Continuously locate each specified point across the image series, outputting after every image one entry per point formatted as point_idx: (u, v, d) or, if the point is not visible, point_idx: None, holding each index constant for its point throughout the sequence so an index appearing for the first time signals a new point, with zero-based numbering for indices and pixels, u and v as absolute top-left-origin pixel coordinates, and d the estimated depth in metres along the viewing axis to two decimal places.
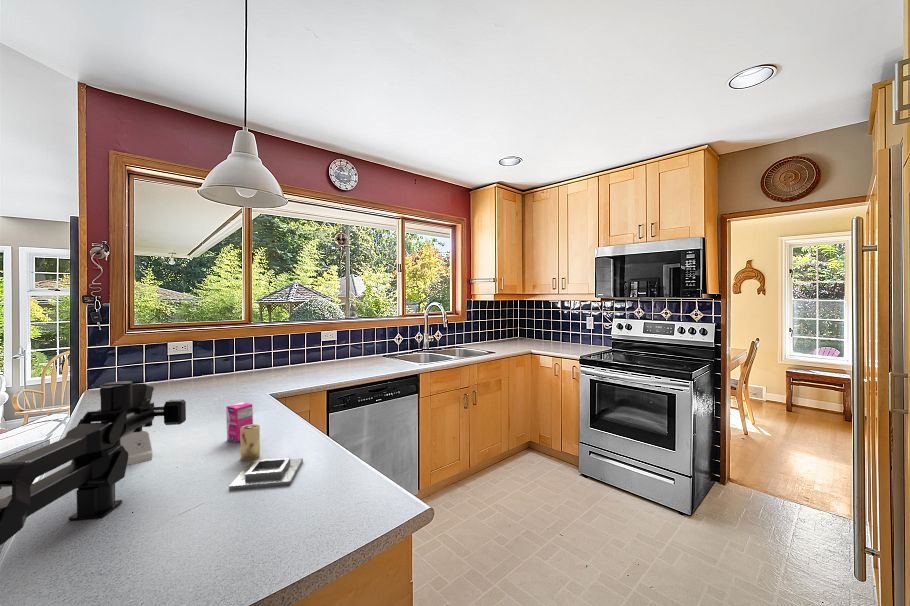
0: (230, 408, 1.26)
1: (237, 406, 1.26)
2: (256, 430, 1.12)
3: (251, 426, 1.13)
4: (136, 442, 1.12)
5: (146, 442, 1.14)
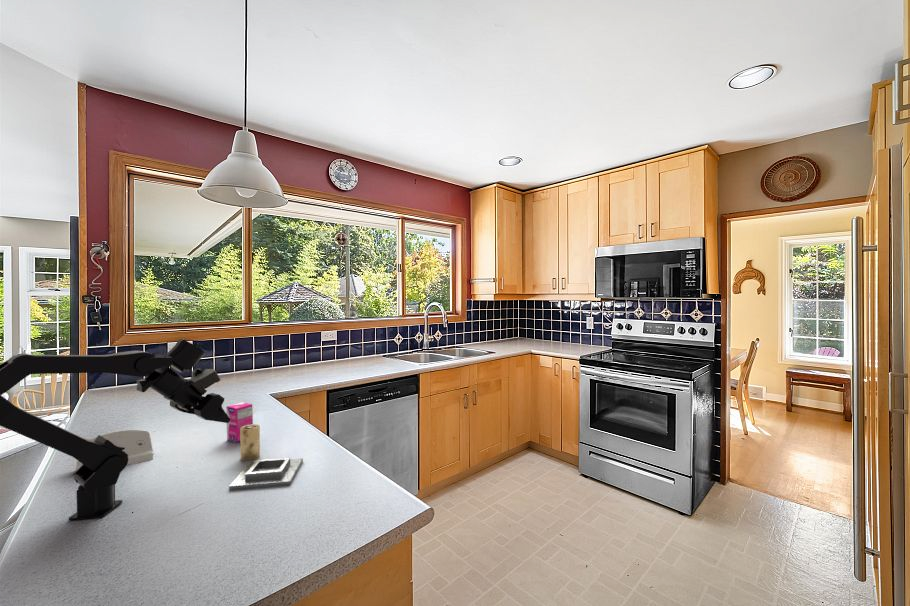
0: (230, 408, 1.26)
1: (237, 406, 1.26)
2: (256, 430, 1.12)
3: (251, 426, 1.13)
4: (137, 442, 1.12)
5: (147, 442, 1.14)
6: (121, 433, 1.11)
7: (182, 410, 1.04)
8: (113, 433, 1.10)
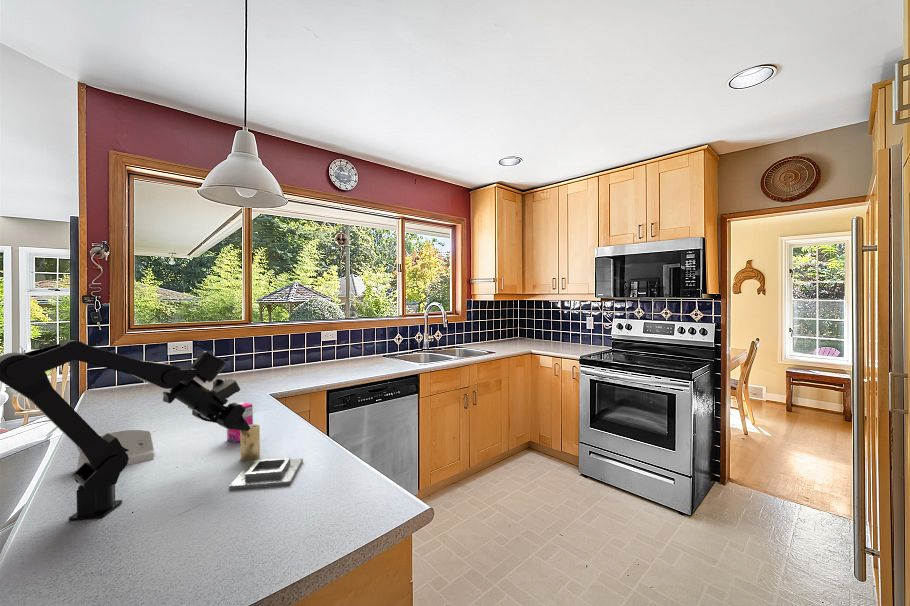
0: None
1: None
2: (256, 430, 1.12)
3: (251, 426, 1.13)
4: (138, 442, 1.12)
5: (148, 442, 1.14)
6: (122, 433, 1.11)
7: (204, 419, 1.08)
8: (114, 433, 1.10)
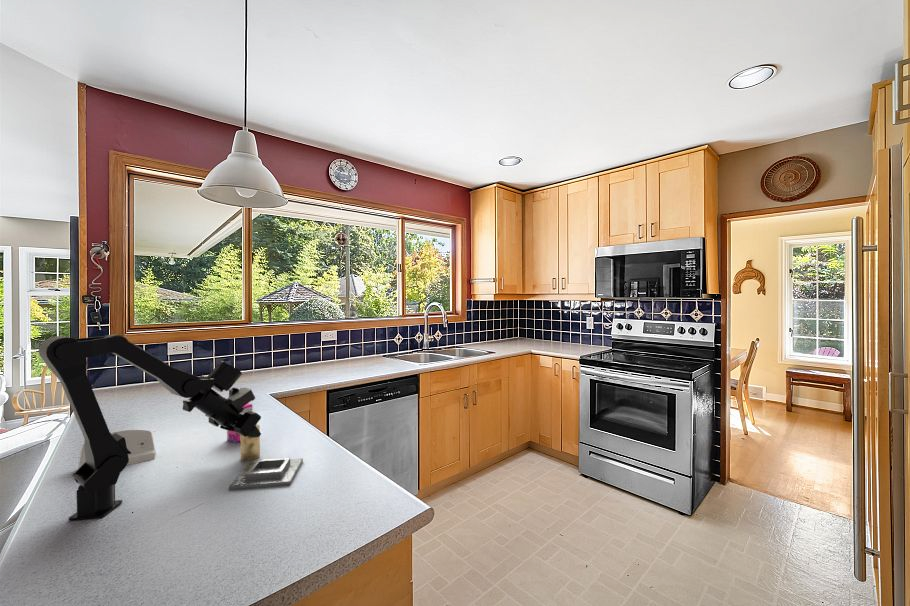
0: None
1: None
2: None
3: None
4: (139, 442, 1.13)
5: (149, 441, 1.14)
6: (123, 433, 1.11)
7: (223, 427, 1.10)
8: None
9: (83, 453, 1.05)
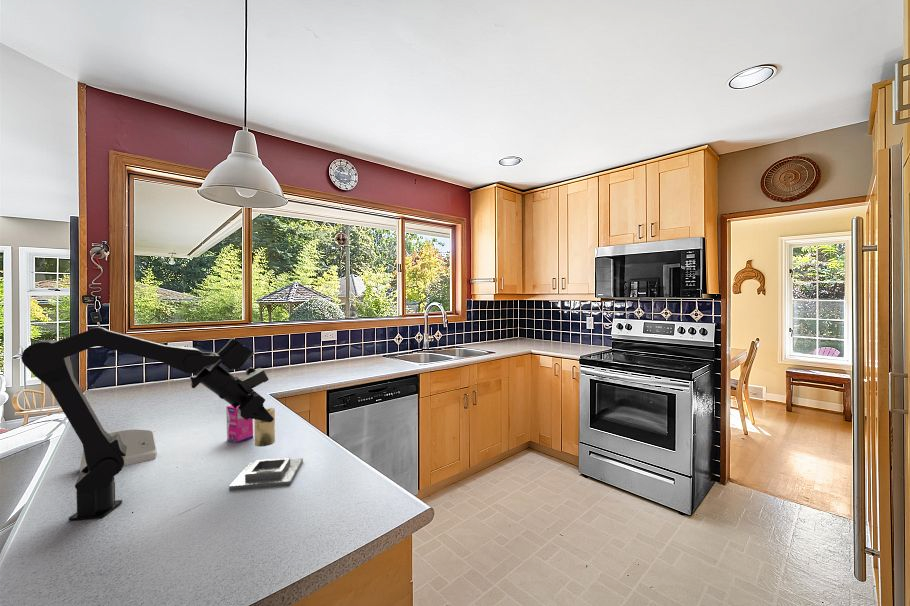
0: (230, 408, 1.26)
1: None
2: None
3: (266, 409, 1.06)
4: (140, 441, 1.13)
5: (150, 441, 1.14)
6: (125, 432, 1.11)
7: None
8: (117, 432, 1.11)
9: None
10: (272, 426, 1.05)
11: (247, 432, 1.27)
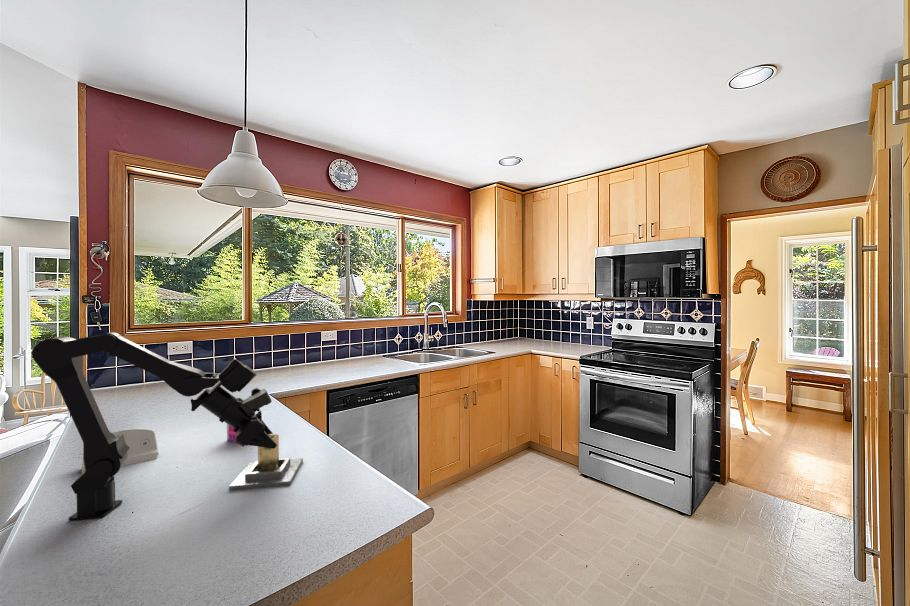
0: None
1: None
2: None
3: (270, 436, 1.02)
4: (142, 441, 1.13)
5: (152, 441, 1.14)
6: (126, 432, 1.12)
7: None
8: (119, 432, 1.11)
9: None
10: (275, 454, 1.00)
11: None
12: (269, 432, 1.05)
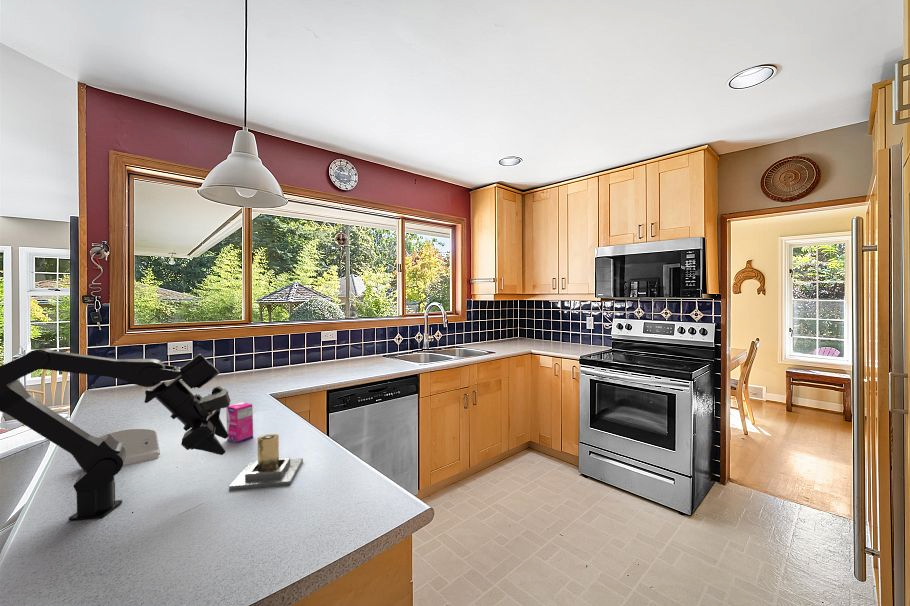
0: (230, 408, 1.26)
1: (237, 406, 1.26)
2: (270, 442, 0.99)
3: (270, 436, 1.02)
4: (143, 441, 1.13)
5: (153, 441, 1.14)
6: (128, 432, 1.12)
7: None
8: (120, 431, 1.11)
9: None
10: (275, 454, 1.00)
11: (247, 432, 1.27)
12: (224, 432, 1.02)
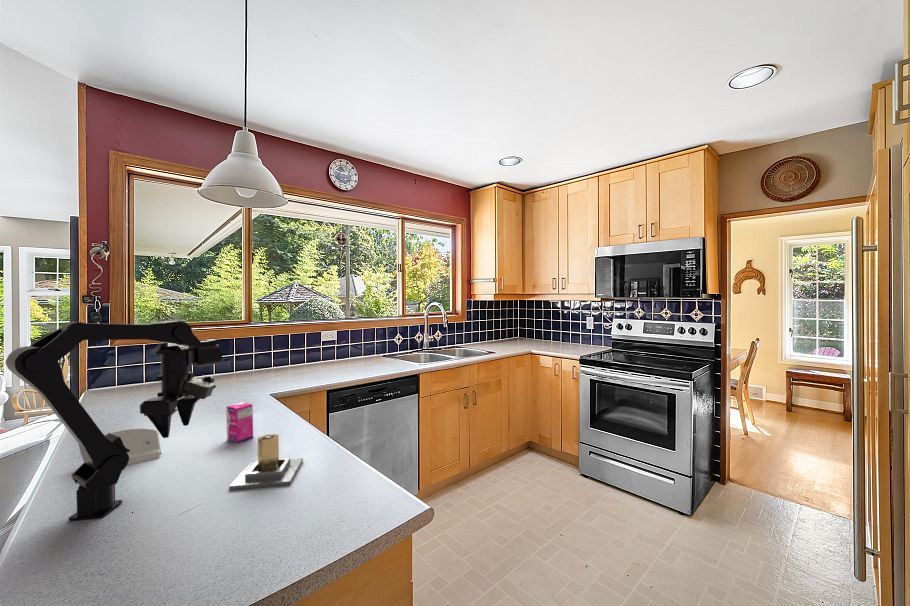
0: (230, 408, 1.26)
1: (237, 406, 1.26)
2: (270, 442, 0.99)
3: (270, 436, 1.02)
4: (145, 441, 1.13)
5: (154, 441, 1.15)
6: (130, 431, 1.12)
7: None
8: (122, 431, 1.11)
9: None
10: (275, 454, 1.00)
11: (247, 432, 1.27)
12: (187, 419, 1.02)
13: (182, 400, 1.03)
